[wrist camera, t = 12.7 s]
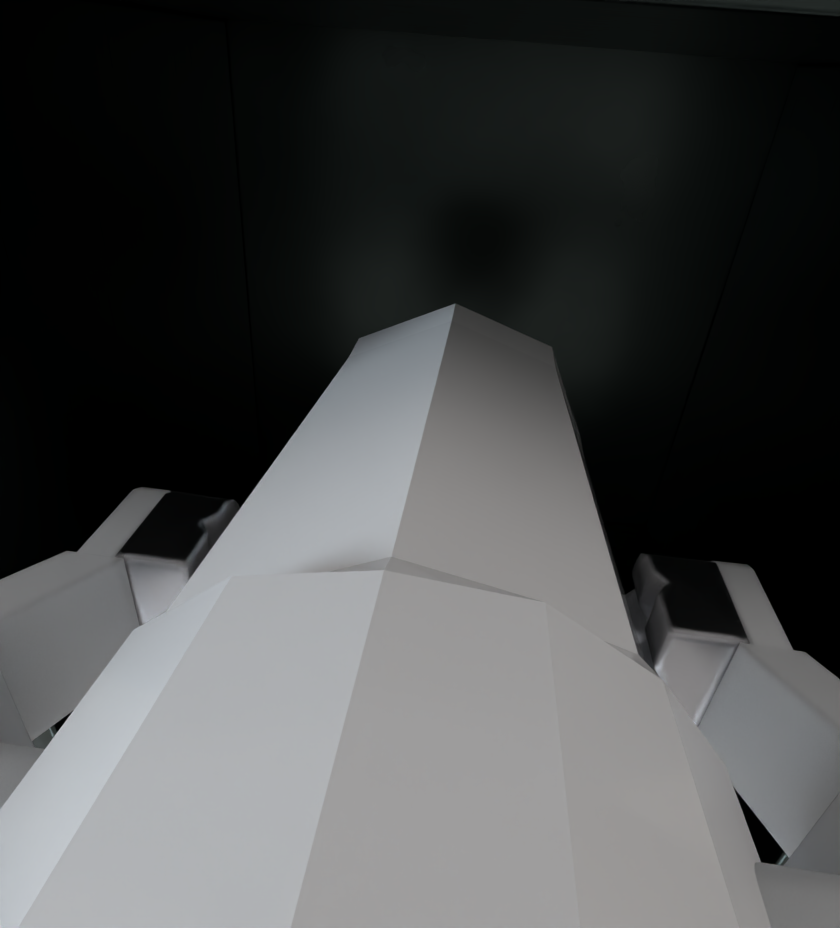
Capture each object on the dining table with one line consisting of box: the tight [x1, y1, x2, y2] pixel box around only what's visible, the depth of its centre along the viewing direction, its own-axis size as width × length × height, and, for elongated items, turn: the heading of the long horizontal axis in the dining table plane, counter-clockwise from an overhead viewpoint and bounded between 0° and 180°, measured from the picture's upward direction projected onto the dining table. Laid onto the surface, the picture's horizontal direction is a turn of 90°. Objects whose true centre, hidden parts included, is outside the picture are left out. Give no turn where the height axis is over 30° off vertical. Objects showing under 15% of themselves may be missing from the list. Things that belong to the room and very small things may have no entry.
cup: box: [0, 303, 771, 928], centre depth 9 cm, size 7×7×11 cm
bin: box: [0, 0, 840, 866], centre depth 15 cm, size 16×16×13 cm
